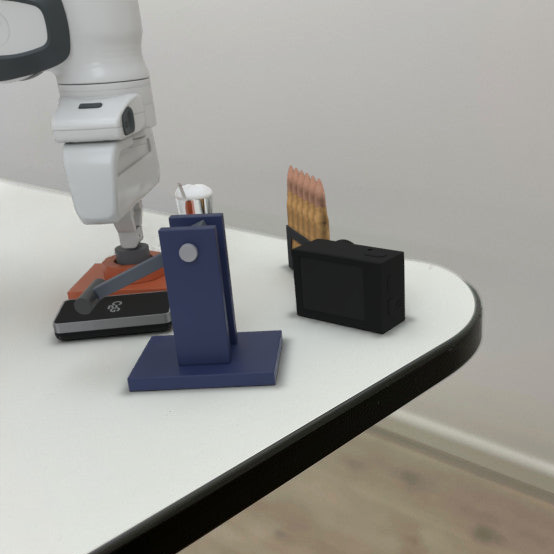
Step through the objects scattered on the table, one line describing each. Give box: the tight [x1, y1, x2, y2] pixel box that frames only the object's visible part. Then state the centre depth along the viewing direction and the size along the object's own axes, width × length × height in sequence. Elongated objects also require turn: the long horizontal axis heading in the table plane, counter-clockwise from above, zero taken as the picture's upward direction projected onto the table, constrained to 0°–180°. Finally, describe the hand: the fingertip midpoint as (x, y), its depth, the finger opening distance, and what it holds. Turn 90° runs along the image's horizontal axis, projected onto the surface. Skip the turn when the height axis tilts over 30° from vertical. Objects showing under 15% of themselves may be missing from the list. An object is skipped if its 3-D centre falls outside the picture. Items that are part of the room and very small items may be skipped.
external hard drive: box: [52, 291, 173, 341], centre depth 76 cm, size 7×11×2 cm, turn 100°
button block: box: [66, 249, 167, 300], centre depth 84 cm, size 12×10×4 cm
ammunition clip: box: [285, 165, 331, 271], centre depth 85 cm, size 11×2×12 cm, turn 24°
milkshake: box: [174, 182, 214, 215], centre depth 94 cm, size 4×5×10 cm
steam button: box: [114, 241, 151, 265], centre depth 83 cm, size 4×4×2 cm
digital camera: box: [292, 238, 406, 335], centre depth 75 cm, size 10×5×7 cm, turn 56°
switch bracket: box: [126, 212, 284, 392], centre depth 64 cm, size 12×9×13 cm
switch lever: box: [74, 220, 207, 314], centre depth 63 cm, size 12×5×2 cm, turn 91°
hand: (132, 244), depth 83 cm, fingers closed
